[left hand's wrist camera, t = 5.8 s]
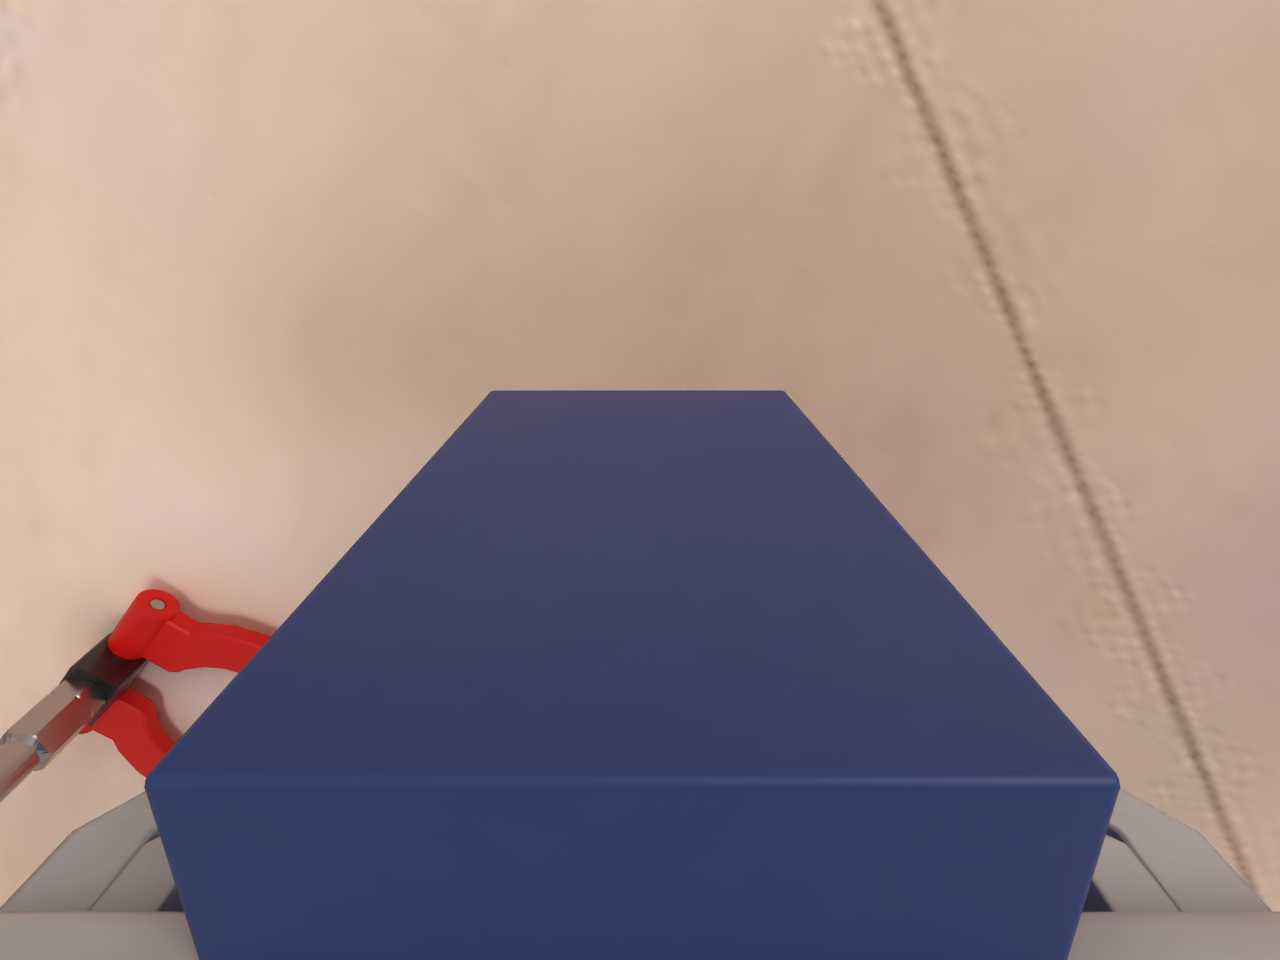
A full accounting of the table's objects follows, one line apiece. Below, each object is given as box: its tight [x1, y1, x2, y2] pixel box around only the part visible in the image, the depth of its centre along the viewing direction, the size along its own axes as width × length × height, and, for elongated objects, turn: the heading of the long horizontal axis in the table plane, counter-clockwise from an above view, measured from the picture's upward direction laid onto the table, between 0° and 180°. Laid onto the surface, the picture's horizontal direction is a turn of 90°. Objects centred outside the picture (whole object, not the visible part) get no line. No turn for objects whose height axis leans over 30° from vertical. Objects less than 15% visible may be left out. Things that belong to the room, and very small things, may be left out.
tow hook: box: [0, 589, 271, 803], centre depth 21 cm, size 8×13×9 cm
